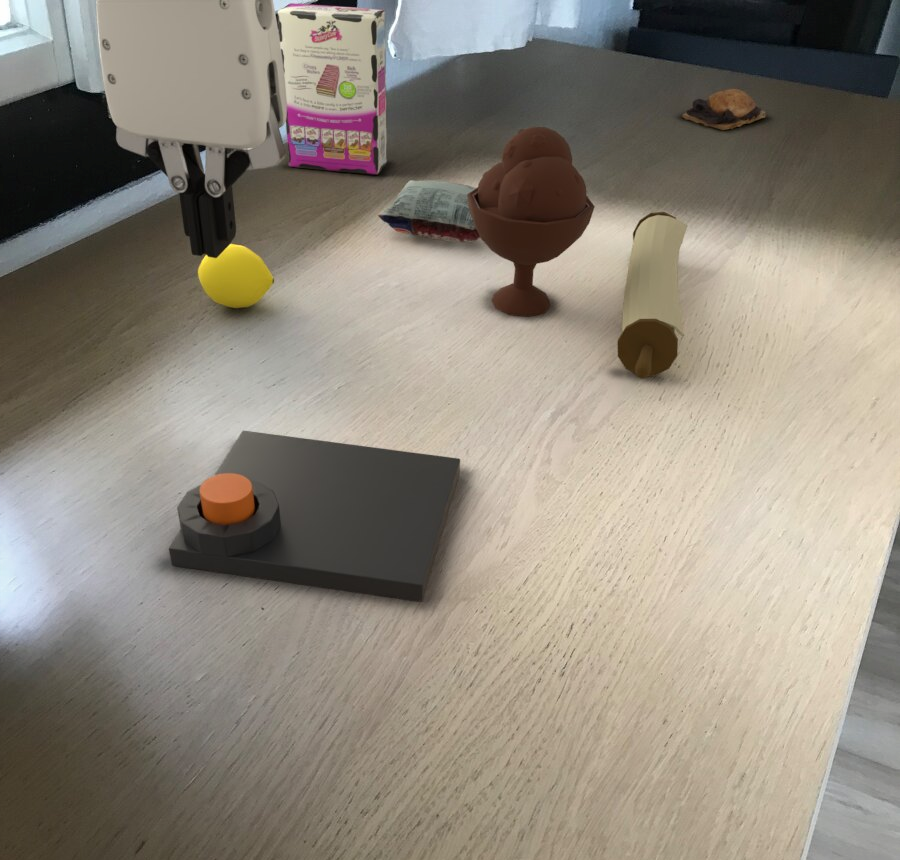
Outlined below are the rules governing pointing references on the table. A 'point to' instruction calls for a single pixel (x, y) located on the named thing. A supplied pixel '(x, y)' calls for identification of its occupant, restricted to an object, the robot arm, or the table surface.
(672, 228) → the scroll
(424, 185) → the packaged food
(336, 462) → the scale
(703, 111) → the chocolate marshmallow cracker
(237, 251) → the lemon
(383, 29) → the candy bar box
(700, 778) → the table surface
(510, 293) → the ice cream bowl
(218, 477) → the tare button
